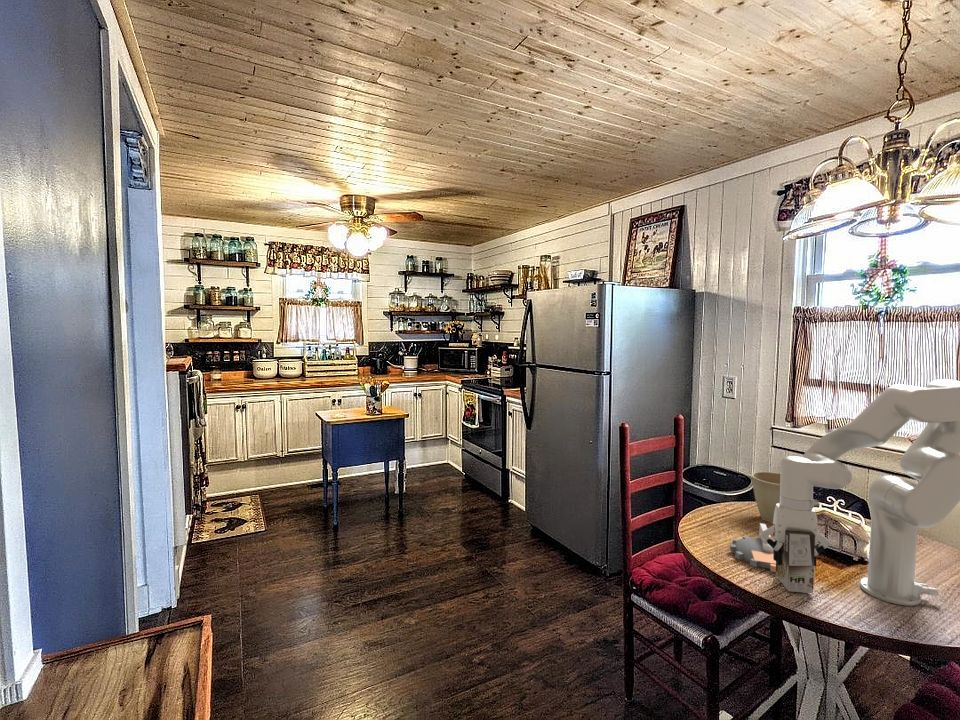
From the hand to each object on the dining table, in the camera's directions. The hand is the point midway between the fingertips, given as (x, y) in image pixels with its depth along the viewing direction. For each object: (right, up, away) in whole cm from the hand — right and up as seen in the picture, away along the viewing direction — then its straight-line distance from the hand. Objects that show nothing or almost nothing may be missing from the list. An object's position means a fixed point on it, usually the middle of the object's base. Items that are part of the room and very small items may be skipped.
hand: (794, 565), depth 134 cm
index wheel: (+3, -4, +17) cm, 18 cm away
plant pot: (+22, -3, +46) cm, 51 cm away
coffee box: (0, -6, 0) cm, 6 cm away
